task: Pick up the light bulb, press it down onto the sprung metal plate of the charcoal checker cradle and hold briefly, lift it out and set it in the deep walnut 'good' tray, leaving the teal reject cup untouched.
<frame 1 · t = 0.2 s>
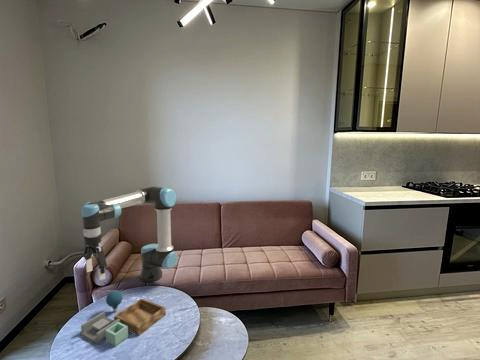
hand: (95, 275, 141), 27 cm above the table, fingers open, 13 cm apart
checker cradle: (101, 331, 139), on the table
reject cup: (117, 339, 133), on the table
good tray: (140, 319, 148), on the table
checker plate: (101, 324, 138), point 4 cm above the table, slide at 0.2 cm
light bulb: (115, 311, 155), on the table
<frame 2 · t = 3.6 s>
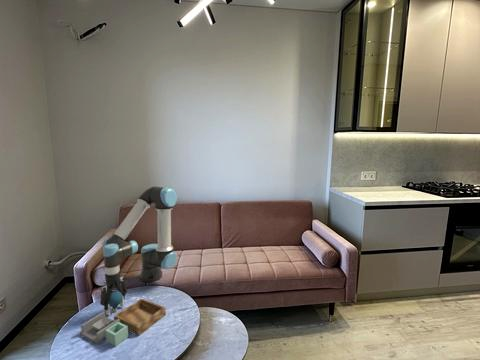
hand: (115, 310, 155), 1 cm above the table, fingers closed on light bulb, 8 cm apart
light bulb: (115, 311, 155), on the table, touching gripper
everything else where it was.
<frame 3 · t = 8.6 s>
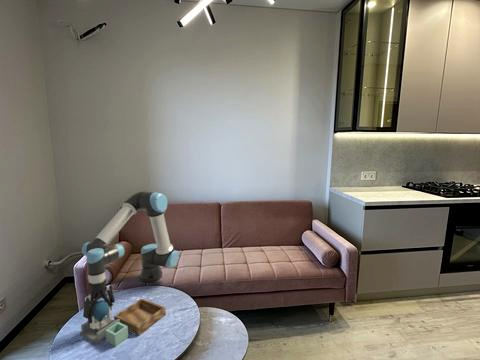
hand: (100, 322, 138), 5 cm above the table, fingers closed on light bulb, 8 cm apart
checker plate: (101, 324, 138), point 3 cm above the table, slide at 0.5 cm, touching light bulb
light bulb: (101, 324, 138), point 4 cm above the table, touching checker plate, gripper
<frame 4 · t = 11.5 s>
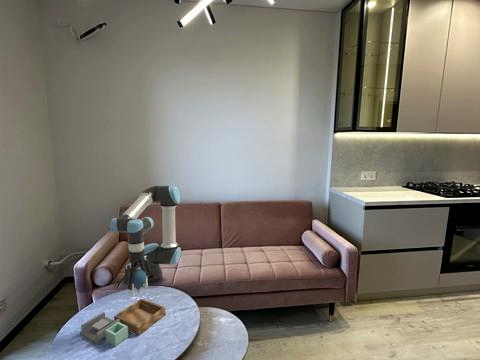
hand: (138, 290, 145), 17 cm above the table, fingers closed on light bulb, 8 cm apart
checker plate: (101, 324, 138), point 4 cm above the table, slide at 0.5 cm
light bulb: (139, 292, 145), point 16 cm above the table, touching gripper
when the fingers open (4 cm above the table, at t = 14.1 s): light bulb drops 2 cm, resting on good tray.
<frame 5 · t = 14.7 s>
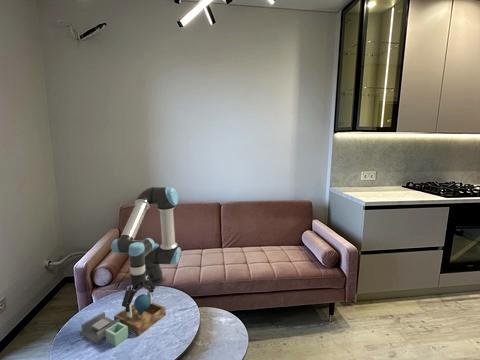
hand: (140, 309, 147), 6 cm above the table, fingers open, 13 cm apart
light bulb: (138, 318, 147), point 1 cm above the table, touching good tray, gripper
everything else where it was.
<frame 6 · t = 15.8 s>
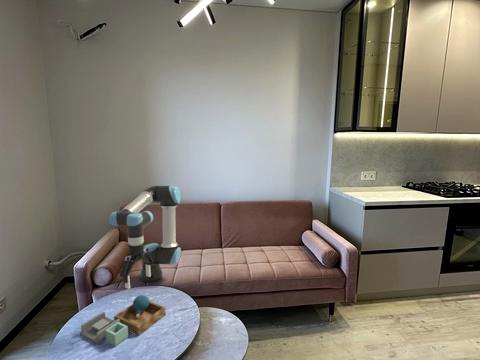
hand: (138, 281, 145), 22 cm above the table, fingers open, 13 cm apart
light bulb: (137, 318, 146), point 1 cm above the table, touching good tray
everything else where it was.
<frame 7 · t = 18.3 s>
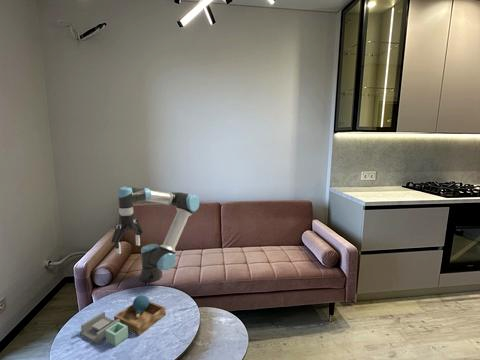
hand: (128, 249, 162), 32 cm above the table, fingers open, 13 cm apart
nothing on the table moved.
at the end: light bulb inside the target area on the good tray (1.9 cm from its centre), point 1.5 cm above the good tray's base; the gripper is holding nothing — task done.
